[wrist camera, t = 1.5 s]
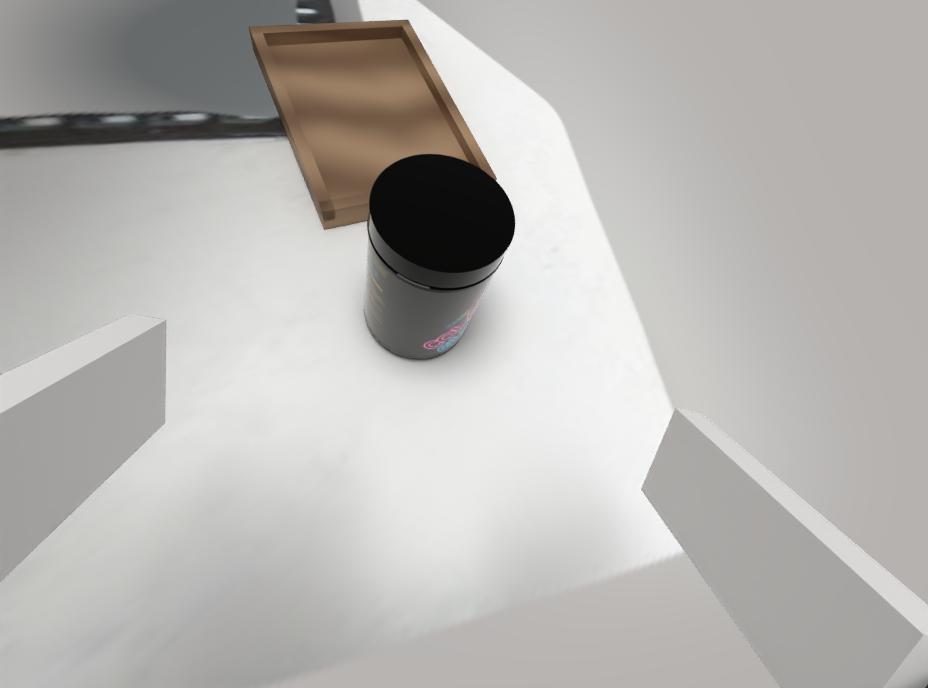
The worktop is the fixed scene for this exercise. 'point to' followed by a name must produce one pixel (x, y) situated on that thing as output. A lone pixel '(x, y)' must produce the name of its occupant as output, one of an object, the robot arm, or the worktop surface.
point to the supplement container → (431, 251)
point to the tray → (358, 107)
